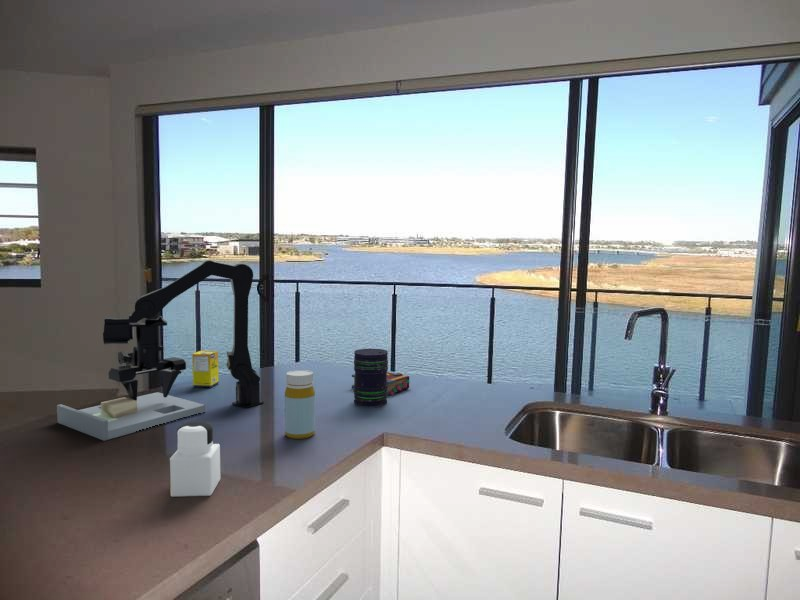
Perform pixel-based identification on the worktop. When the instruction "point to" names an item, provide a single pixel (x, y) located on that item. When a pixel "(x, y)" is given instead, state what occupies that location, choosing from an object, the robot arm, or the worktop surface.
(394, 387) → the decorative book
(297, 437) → the bottle
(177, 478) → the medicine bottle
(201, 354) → the supplement box
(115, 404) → the beech block
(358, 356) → the storage jar
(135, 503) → the worktop surface
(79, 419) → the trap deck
